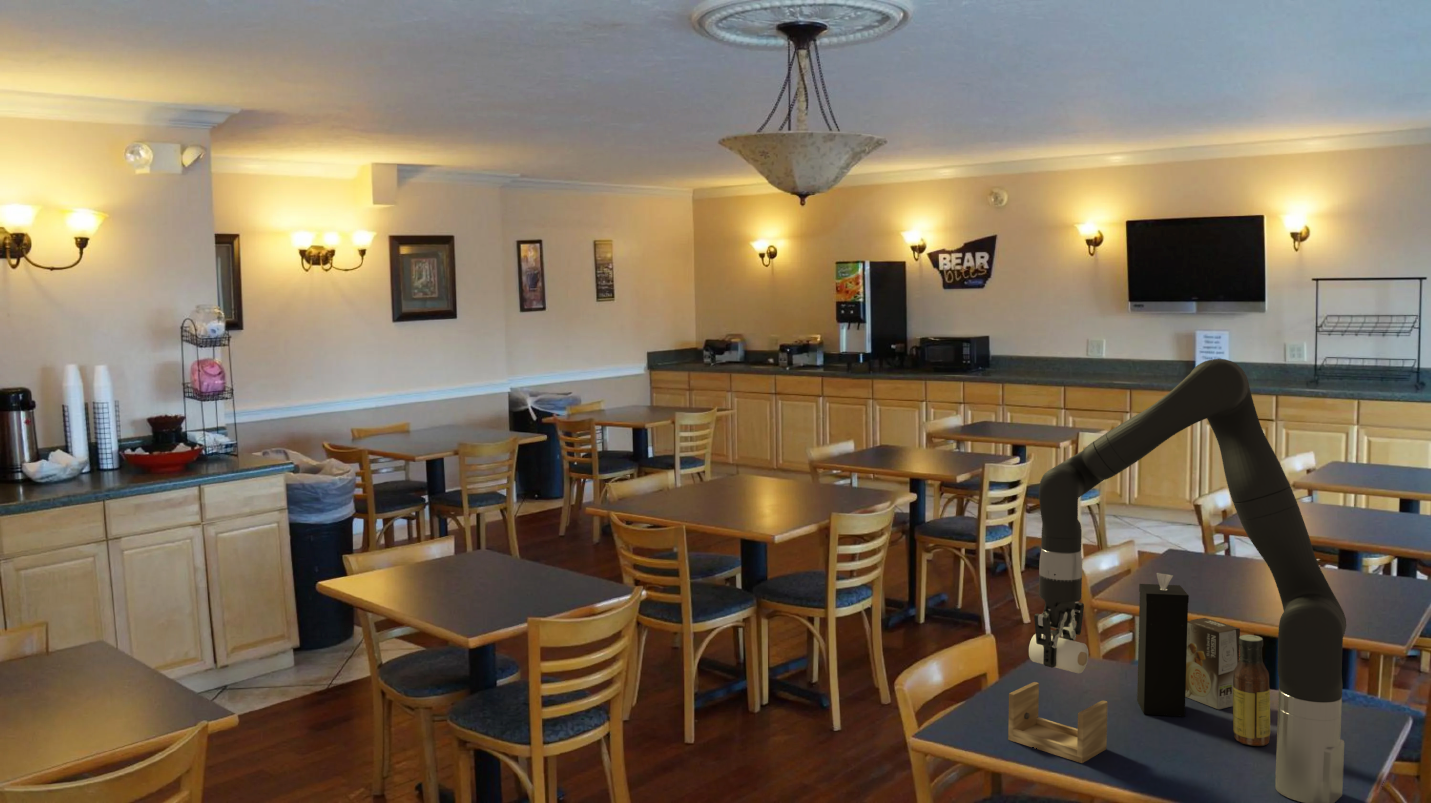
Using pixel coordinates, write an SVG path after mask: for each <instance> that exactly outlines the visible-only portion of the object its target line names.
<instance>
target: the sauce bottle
mask: <svg viewBox="0 0 1431 803" xmlns="http://www.w3.org/2000/svg"><path fill="white" fill-rule="evenodd" d="M1239 645H1240V650H1239V662H1238V664H1237V666H1236V667H1235V669H1234V675H1233V706H1232V725H1233V730H1232V731H1233V733H1234V734H1233V737H1234V739H1235V740H1236V741H1237V742H1239V743H1240V744H1242V745H1247V746H1252V747H1264V746H1266V745H1268V744H1270V735H1271V688H1270V673H1269V670H1268V669H1267V667H1266V665H1265V663H1264V662H1263V647H1264V639H1263V637H1261V636H1259V635H1253V634H1243V635H1240V637H1239Z"/></svg>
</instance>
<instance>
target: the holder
mask: <svg viewBox="0 0 1431 803" xmlns="http://www.w3.org/2000/svg"><path fill="white" fill-rule="evenodd" d="M1039 686H1040V684H1039V682H1037V681H1033V682H1030V683H1028V684H1026V685H1025V686H1022V687H1020V688H1018V689H1016V690H1013V691H1012V692H1009V693H1008V738H1007V740H1008V741H1011V742H1014V743H1018V744H1021V745H1024V746H1027V747H1030V748H1032V747H1034V748H1033V749H1036V748H1037V749H1036V750H1039V751H1043V752H1045V753H1048V754H1051V755H1055V756H1058V757H1061V758H1064V759H1067V760H1070V761H1074V762H1077V763H1080V764H1084V763H1086V762H1088V761H1089V760H1090V759H1092V758H1094V757H1096V756H1097V755H1098V754H1101V753H1102V752H1104V751H1106V750H1107V742H1108V741H1107V738H1108V703H1109V702H1108V701H1106V700H1101V701H1100V700H1099V701H1098V702H1097V703H1094V704H1093V705H1090V706H1089V707H1087V708H1085V709H1083V710H1080V711H1079V712H1078V713H1077V728H1076V727H1073V726H1069V725H1065V724H1063V723H1059V722H1055V721H1052V720H1049V719H1046V718H1043V717H1039V705H1040V704H1039V698H1040V697H1039V695H1040V691H1039V690H1040V687H1039Z"/></svg>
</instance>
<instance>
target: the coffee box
mask: <svg viewBox="0 0 1431 803" xmlns="http://www.w3.org/2000/svg"><path fill="white" fill-rule="evenodd" d="M1240 636H1241V628H1240V627H1237V626H1233V625H1230V624H1226V623H1224V622H1220V621H1217V620H1214V619H1210V618H1207V617H1201V618H1194V619H1191V620H1188V624H1187V659H1186V693H1185V698H1187V699H1190V700H1193V701H1195V702H1198V703H1201V704H1203V705H1206V706H1208V707H1211V708H1213V709H1215V710H1222V709H1226V708H1230V707H1231V708H1232V707H1233V675H1234V669H1235V667H1236V666H1237V664H1238V662H1239V660H1240V645H1239V637H1240Z"/></svg>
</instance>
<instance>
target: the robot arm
mask: <svg viewBox="0 0 1431 803" xmlns="http://www.w3.org/2000/svg"><path fill="white" fill-rule="evenodd" d="M1258 416H1259V415H1258V413H1257V411H1256V406H1255V404H1254V400H1253V396H1252V391H1251V387H1250V384H1249V379H1248V376H1247V374H1246V372H1245V371H1244V370H1243V368H1242V367H1241V366H1240V365H1238V364H1237V363H1236V362H1233V361H1232V360H1228V359H1224V358H1214V359H1213V358H1212V359H1208V360H1205V361H1203V362H1201V363H1199V364H1197V365H1196V366H1195V367H1194V368H1193V369H1192V370H1191V372H1190V373H1189V374H1188V375H1187V376H1186V377H1185V378H1184V379H1183V380H1182V381H1180V382H1179V383H1178V384H1177V385H1176V386H1175V387H1174V388H1173V389H1172V390H1170V391H1169V392H1167V394H1166V395H1164V396H1163V397H1161V399H1159V400H1158V401H1157V402H1155V403H1154V404H1152V405H1151V406H1149V407H1147V408H1146V409H1144V410H1143V411H1141V412H1139V413H1138V414H1135V415H1134V416H1132V417H1131V418H1129V419H1127V420H1125V421H1124V422H1122V423H1120V424H1118V425H1117V426H1116V427H1114V428H1112V429H1110V430H1109V431H1108V432H1106V433H1104V434H1103V435H1101V436H1100V437H1098V438H1096V439H1095V440H1093V441H1092V442H1091V443H1090V444H1088V445H1087V446H1085V447H1084V448H1083V450H1081V451H1080V452H1078V453H1076V454H1074V455H1072V456H1071V457H1069V458H1068V459H1066V460H1064V461H1063V462H1061V463H1059V464H1057V465H1055V466H1054V467H1052V468H1051V469H1049V470H1047V471H1046V472H1044V474H1043V476H1042V477H1041V479H1040V480H1039V481H1040V482H1039V488H1038V499H1039V500H1038V501H1039V508H1040V509H1039V510H1040V517H1041V522H1042V525H1041V537H1040V538H1041V542H1040V543H1041V545H1040V546H1041V547H1040V550H1041V551H1040V556H1039V563H1038V564H1039V570H1038V571H1039V572H1038V576H1039V578H1038V596H1039V598H1040V599H1043V601H1044V603H1045V604H1044V608H1043V612H1042V613H1041V614H1040V613H1035V614H1034V616H1033V617H1034V619H1033V620H1034V630H1035V634H1036V643H1037V644H1039V645H1043V647H1044V659H1043V664H1042V665H1044V666H1045V667H1047V668H1056V667H1055V666H1056V653H1057V648H1056V646H1057V641H1058V637H1059V638H1063V639H1067V640H1072V641H1076V639H1077V636H1079V635H1081V634H1082V633H1081V632H1082V625H1083V617H1084V608H1085V604H1084V603H1083V602H1079V601H1080V600H1081V599H1082V594H1083V593H1082V588H1083V557H1082V526H1081V525H1082V524H1081V522H1080V521H1079V509H1078V508H1079V498H1081V497H1082V496H1083V495H1085V494H1086V493H1088V492H1089V491H1090V490H1092V489H1094V488H1095V487H1096V486H1098V485H1099V484H1100V483H1102V482H1104V481H1106V480H1109V479H1111V478H1113V477H1115V476H1116V475H1118V474H1120V473H1121V472H1123V471H1124V470H1126V469H1127V468H1129V467H1131V466H1133V465H1134V464H1135V463H1137V462H1138V461H1140V460H1141V459H1142V458H1144V457H1145V456H1147V455H1148V454H1150V453H1151V452H1152V451H1154V450H1155V449H1157V448H1158V447H1159V446H1160V445H1162V444H1163V443H1164V442H1166V441H1167V440H1169V439H1170V438H1172V437H1173V436H1175V435H1176V434H1178V433H1180V432H1181V431H1183V430H1185V429H1187V428H1188V427H1191V426H1193V425H1194V424H1197V423H1200V422H1202V421H1204V420H1207V421H1208V424H1209V426H1210V427H1211V429H1212V432H1213V434H1214V436H1215V438H1216V441H1217V443H1218V446H1219V450H1220V454H1221V461H1222V466H1223V472H1224V476H1225V481H1226V484H1227V488H1228V491H1229V495H1230V498H1231V500H1232V504H1233V506H1234V508H1235V511H1236V514H1237V516H1238V519H1239V520H1240V521H1239V522H1240V524H1241V526H1242V528H1243V530H1244V531H1245V534H1246V535H1247V537H1248V539H1249V540H1250V542H1251V543H1252V545H1253V546H1254V547H1255V549H1256V551H1257V552H1258V554H1259V555H1260V556H1261V558H1262V559H1263V560H1264V562H1265V564H1266V565H1267V566H1268V568H1269V570H1270V572H1271V574H1272V577H1273V580H1274V582H1275V585H1276V588H1277V591H1278V593H1279V597H1280V601H1281V604H1282V609H1283V612H1282V613H1281V616H1280V619H1279V622H1278V632H1277V634H1278V635H1277V636H1278V639H1277V676H1278V699H1277V700H1278V701H1277V702H1278V704H1277V724H1276V725H1277V728H1276V729H1277V730H1276V734H1277V735H1276V757H1275V774H1274V778H1275V786H1274V787H1275V790H1276V791H1277V792H1278V793H1279V794H1281V795H1282V796H1284V797H1286V798H1288V799H1290V800H1294V801H1297V802H1301V803H1336V802H1337V801H1338V800H1339V799H1340V798H1341V797H1343V785H1344V784H1343V782H1344V763H1345V762H1344V760H1345V741H1344V739H1342V738H1341V733H1342V732H1341V729H1342V728H1341V726H1342V703H1343V687H1344V686H1343V678H1342V677H1343V676H1342V671H1343V670H1342V668H1343V664H1342V663H1343V647H1344V646H1343V645H1344V642H1343V641H1344V635H1345V633H1346V630H1347V618H1346V616H1345V612H1344V610H1343V608H1342V606H1341V605H1340V603H1339V600H1338V599H1337V597H1336V596H1335V593H1334V592H1333V590H1332V588H1331V586H1330V584H1329V582H1328V581H1327V578H1326V577H1325V575H1324V573H1323V571H1322V569H1321V566H1320V565H1319V562H1318V560H1317V557H1316V555H1315V552H1314V549H1313V545H1312V542H1311V539H1310V536H1309V532H1308V529H1307V527H1306V524H1305V521H1304V517H1303V515H1302V513H1301V512H1302V511H1301V509H1300V506H1299V504H1298V501H1297V498H1296V496H1295V494H1294V491H1293V489H1292V486H1291V484H1290V482H1289V480H1288V478H1287V476H1286V473H1285V471H1284V469H1283V467H1282V465H1281V463H1280V461H1279V459H1278V457H1277V455H1276V453H1275V451H1274V449H1273V447H1272V445H1271V444H1270V441H1269V440H1268V438H1267V436H1266V435H1265V433H1264V430H1263V428H1262V425H1261V422H1260V419H1259V417H1258ZM1042 634H1043V638H1042ZM1051 636H1053V638H1052V640H1051Z"/></svg>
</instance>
